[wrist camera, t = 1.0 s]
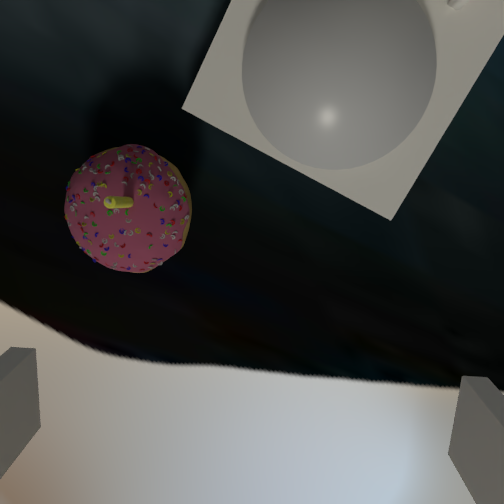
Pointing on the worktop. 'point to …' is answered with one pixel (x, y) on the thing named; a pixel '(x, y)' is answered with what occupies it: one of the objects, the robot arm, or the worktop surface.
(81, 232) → the cupcake
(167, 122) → the worktop surface
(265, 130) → the scale
